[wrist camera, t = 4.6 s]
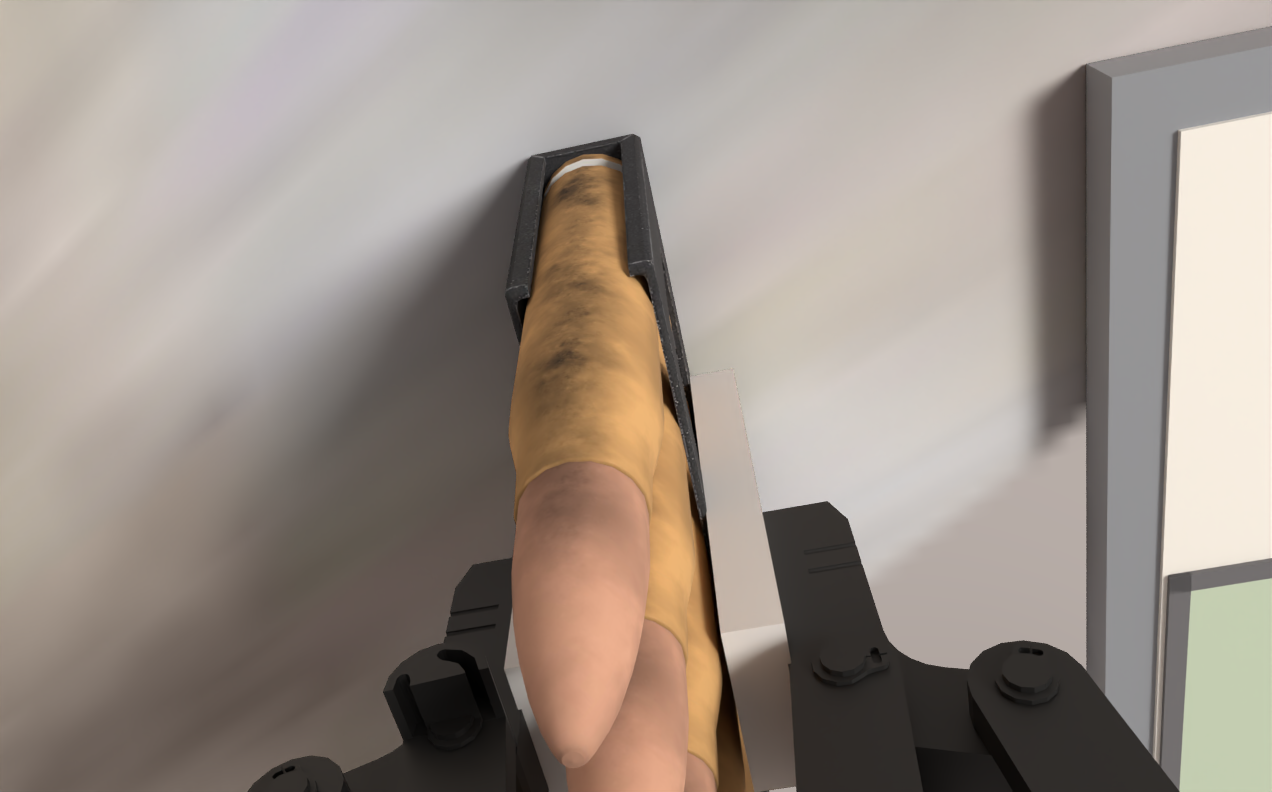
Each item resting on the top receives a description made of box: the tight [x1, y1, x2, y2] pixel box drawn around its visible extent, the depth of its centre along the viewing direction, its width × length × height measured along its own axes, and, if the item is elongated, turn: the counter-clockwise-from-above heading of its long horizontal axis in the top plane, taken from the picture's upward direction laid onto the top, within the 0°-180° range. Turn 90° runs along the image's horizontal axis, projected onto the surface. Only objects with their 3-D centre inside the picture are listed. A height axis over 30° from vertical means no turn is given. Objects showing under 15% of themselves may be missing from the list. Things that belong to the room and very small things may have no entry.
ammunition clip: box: [505, 134, 769, 792], centre depth 15 cm, size 11×2×12 cm, turn 12°
